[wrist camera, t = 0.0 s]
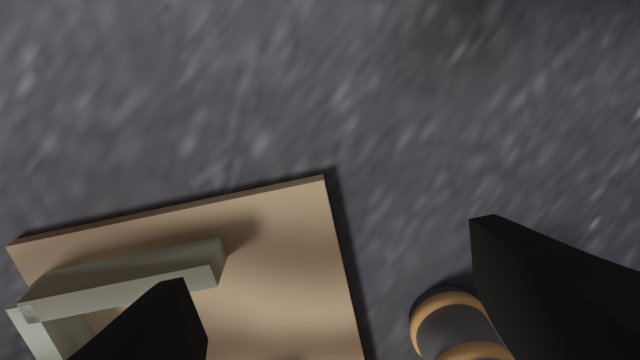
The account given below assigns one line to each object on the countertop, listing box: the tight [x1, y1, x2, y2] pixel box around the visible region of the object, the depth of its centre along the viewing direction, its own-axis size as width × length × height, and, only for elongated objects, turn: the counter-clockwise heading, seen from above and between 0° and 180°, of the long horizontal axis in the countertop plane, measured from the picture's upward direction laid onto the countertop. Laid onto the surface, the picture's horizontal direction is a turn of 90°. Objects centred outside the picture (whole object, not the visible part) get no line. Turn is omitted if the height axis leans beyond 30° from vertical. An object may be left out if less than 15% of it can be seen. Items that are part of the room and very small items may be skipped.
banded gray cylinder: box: [409, 285, 515, 360], centre depth 20 cm, size 4×4×6 cm
